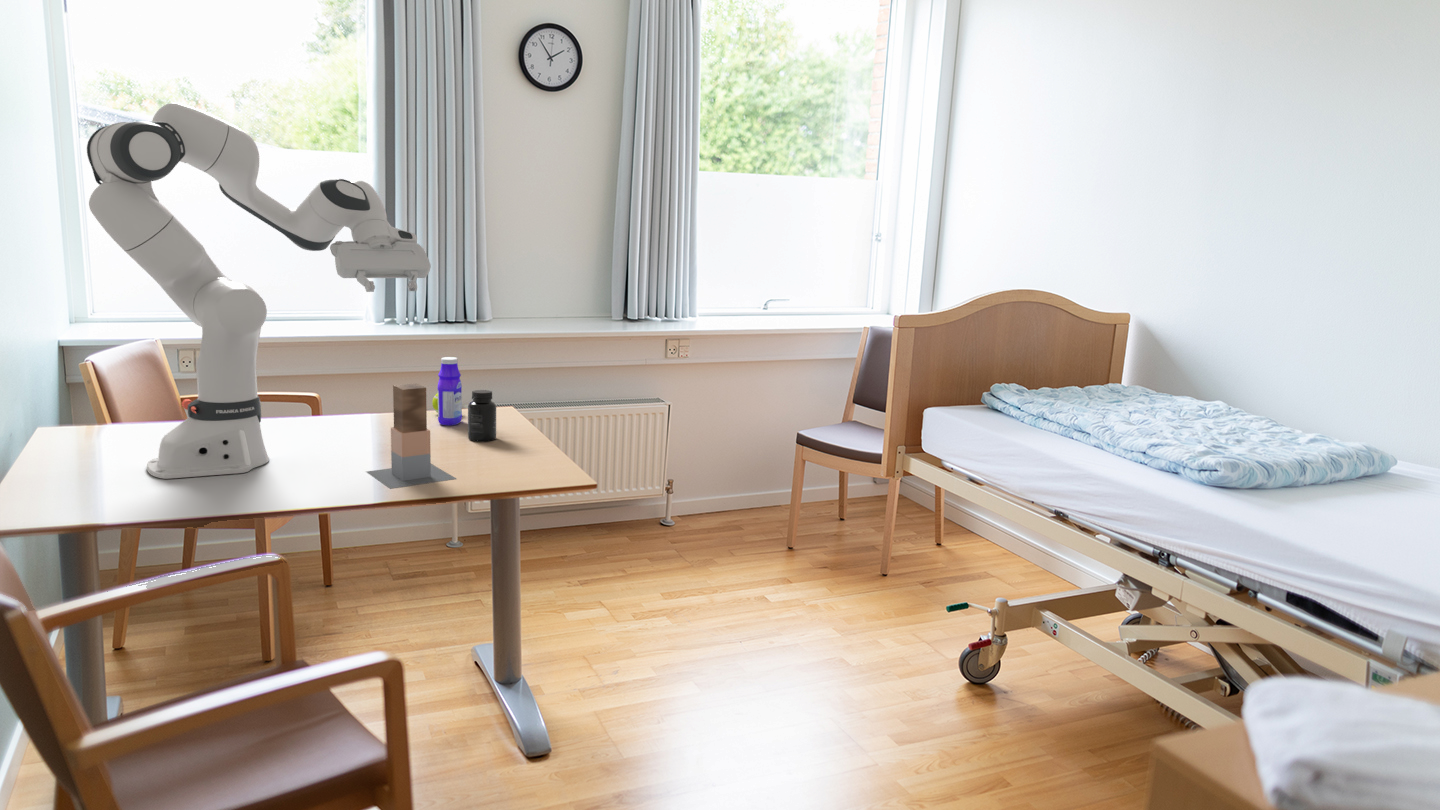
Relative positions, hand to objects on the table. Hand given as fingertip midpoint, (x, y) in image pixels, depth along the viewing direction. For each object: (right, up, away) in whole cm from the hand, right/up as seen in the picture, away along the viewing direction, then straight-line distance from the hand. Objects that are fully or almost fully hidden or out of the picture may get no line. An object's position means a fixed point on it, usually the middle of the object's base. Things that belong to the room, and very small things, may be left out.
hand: (392, 289), depth 202 cm
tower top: (+8, -35, -11) cm, 38 cm away
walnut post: (+8, -30, -12) cm, 33 cm away
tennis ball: (-3, -28, +48) cm, 56 cm away
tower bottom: (+7, -40, -9) cm, 42 cm away
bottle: (+1, -30, +39) cm, 50 cm away
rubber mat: (+7, -41, -9) cm, 42 cm away
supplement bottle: (+13, -34, +25) cm, 44 cm away
